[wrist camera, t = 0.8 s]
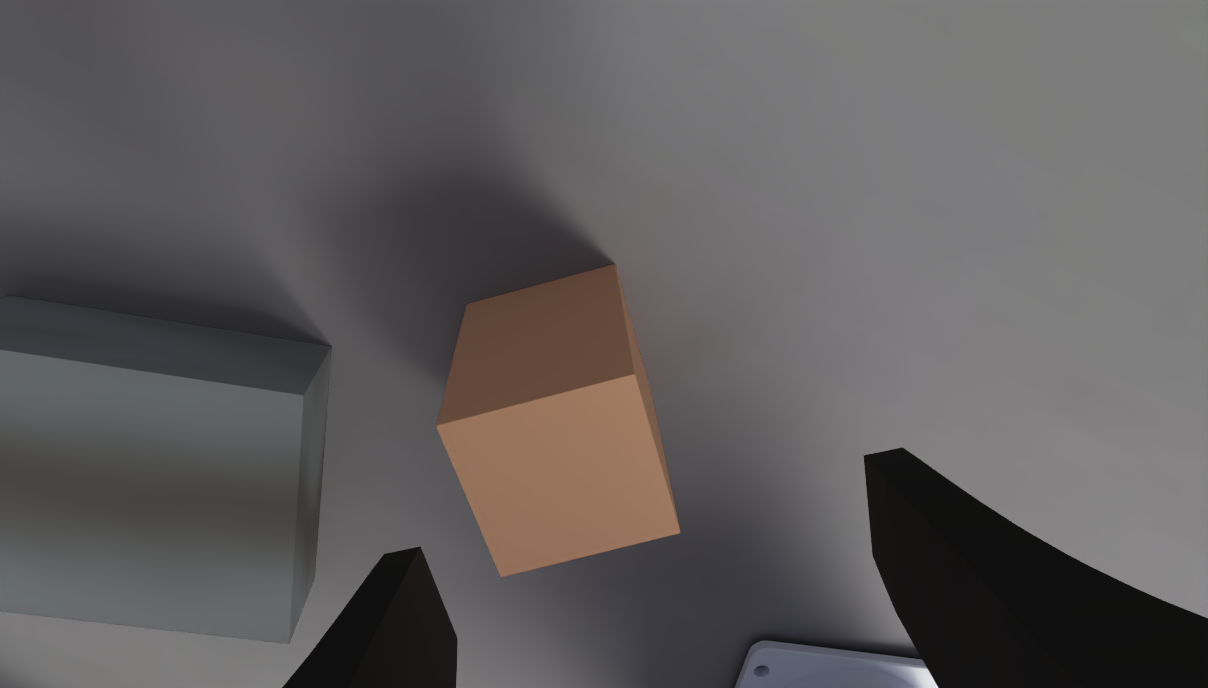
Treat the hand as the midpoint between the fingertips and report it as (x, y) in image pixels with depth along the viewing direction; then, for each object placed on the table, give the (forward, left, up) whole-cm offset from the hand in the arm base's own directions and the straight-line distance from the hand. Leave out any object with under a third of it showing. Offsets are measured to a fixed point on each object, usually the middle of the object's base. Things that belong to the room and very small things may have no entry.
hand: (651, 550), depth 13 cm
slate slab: (-6, +11, -10) cm, 16 cm away
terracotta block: (-1, +1, -10) cm, 10 cm away
